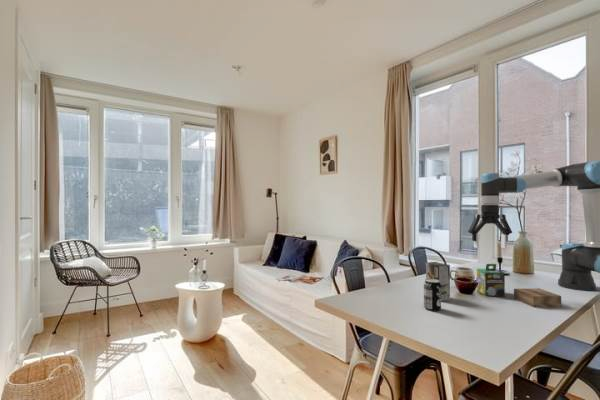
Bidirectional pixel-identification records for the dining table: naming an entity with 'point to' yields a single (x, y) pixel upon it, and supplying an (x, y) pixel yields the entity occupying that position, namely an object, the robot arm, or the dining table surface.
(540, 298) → the walnut block
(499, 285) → the chalk box
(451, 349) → the dining table surface
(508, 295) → the dining table surface
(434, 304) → the beverage can
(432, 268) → the coffee box
